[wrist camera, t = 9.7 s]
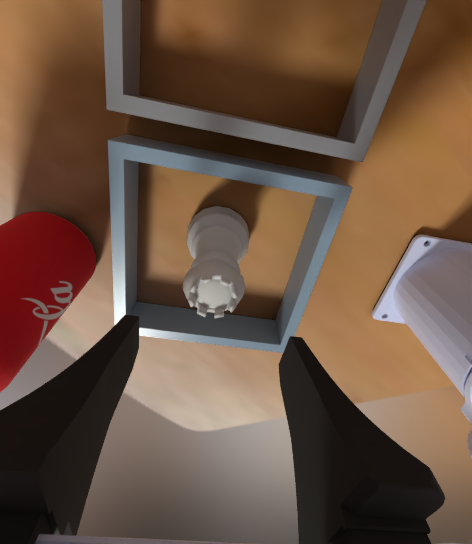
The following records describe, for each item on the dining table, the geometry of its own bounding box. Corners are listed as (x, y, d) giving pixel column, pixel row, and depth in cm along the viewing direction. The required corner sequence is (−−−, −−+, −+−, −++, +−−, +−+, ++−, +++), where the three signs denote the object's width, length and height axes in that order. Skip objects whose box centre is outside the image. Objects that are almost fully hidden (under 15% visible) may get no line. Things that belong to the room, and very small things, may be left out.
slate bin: (336, 175, 19) (352, 187, 16) (281, 328, 26) (287, 353, 23) (125, 134, 17) (107, 139, 15) (127, 307, 24) (115, 332, 22)
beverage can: (35, 286, 23) (-122, 436, 13) (-6, 212, 20) (-258, 334, 10) (111, 279, 23) (15, 427, 13) (83, 203, 20) (-77, 318, 9)
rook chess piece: (191, 260, 22) (173, 333, 15) (184, 204, 20) (161, 260, 13) (248, 259, 22) (257, 331, 15) (249, 203, 20) (259, 258, 13)
